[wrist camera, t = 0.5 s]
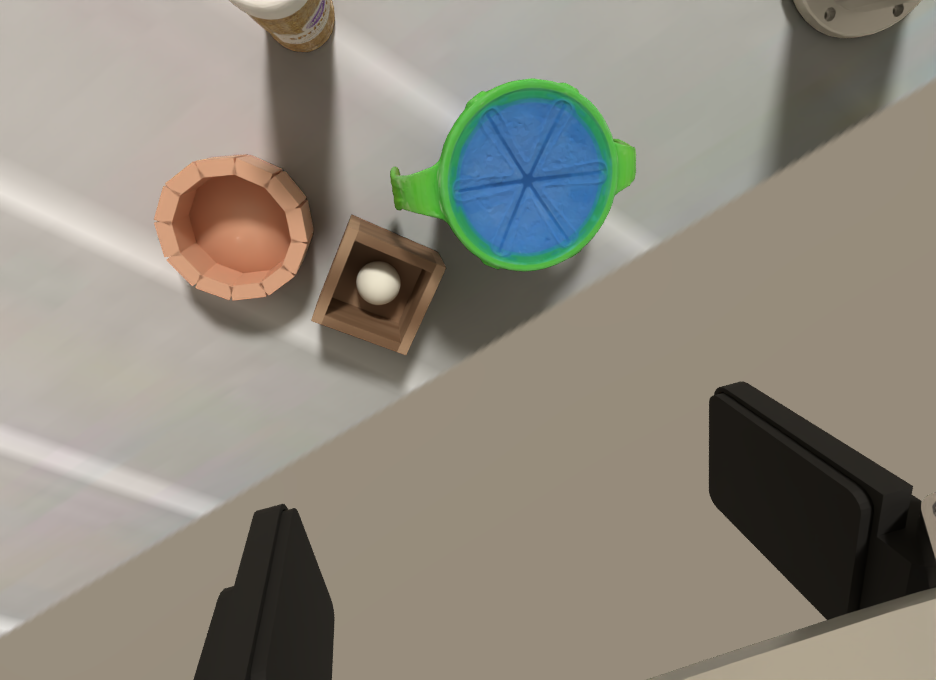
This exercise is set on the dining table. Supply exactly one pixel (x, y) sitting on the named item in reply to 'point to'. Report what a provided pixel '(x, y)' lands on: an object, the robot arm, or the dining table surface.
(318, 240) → the dining table surface
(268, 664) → the robot arm
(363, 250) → the walnut box
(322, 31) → the sprinkles bottle
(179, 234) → the pot
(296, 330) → the dining table surface
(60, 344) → the dining table surface
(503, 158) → the snack cup
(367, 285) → the ball
